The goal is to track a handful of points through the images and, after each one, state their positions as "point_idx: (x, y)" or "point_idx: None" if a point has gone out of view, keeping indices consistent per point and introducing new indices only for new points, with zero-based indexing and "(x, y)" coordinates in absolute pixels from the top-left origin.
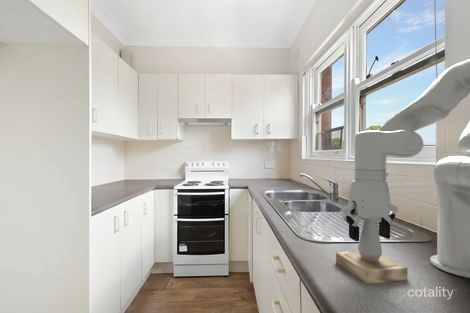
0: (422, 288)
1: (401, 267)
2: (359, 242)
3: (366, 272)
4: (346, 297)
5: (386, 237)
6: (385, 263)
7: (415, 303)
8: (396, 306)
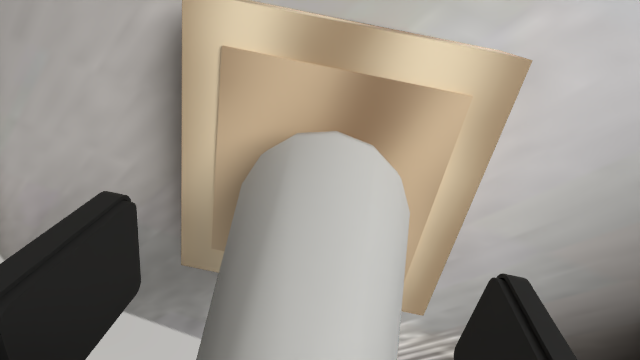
0: None
1: None
2: (247, 195)
3: (183, 260)
4: None
5: (458, 352)
6: None
7: None
8: (198, 331)
